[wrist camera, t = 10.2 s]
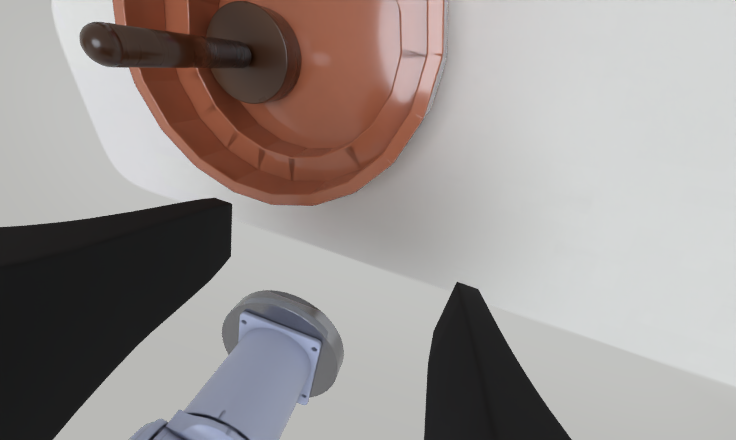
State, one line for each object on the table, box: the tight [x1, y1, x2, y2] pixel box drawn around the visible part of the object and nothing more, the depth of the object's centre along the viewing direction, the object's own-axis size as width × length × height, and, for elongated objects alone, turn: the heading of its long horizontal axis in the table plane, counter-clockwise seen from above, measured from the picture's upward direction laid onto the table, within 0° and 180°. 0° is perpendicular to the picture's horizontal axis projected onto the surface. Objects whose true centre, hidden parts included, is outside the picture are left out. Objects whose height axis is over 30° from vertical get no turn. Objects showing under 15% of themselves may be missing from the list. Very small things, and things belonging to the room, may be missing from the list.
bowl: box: [113, 0, 448, 206], centre depth 15 cm, size 14×14×5 cm
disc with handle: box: [80, 1, 301, 104], centre depth 13 cm, size 5×5×9 cm
